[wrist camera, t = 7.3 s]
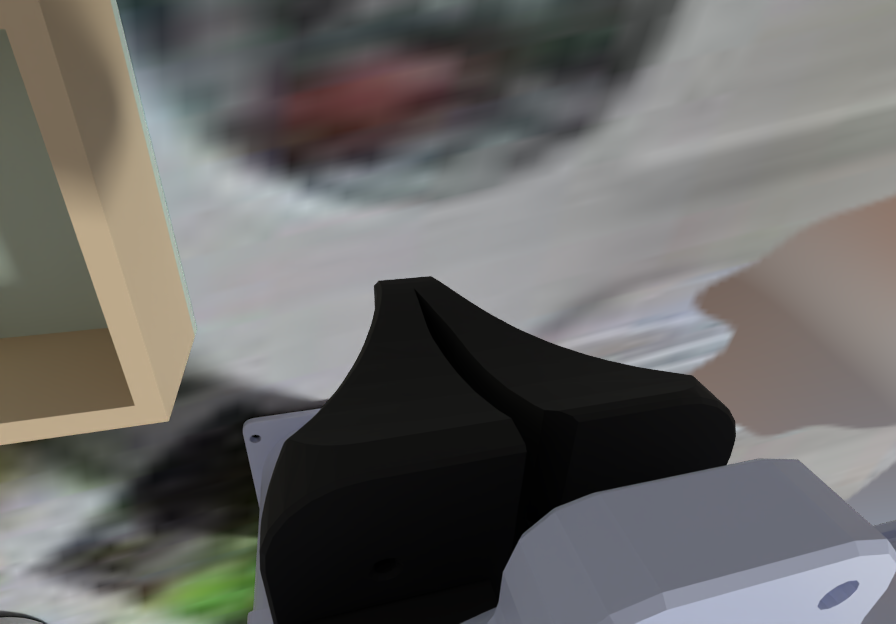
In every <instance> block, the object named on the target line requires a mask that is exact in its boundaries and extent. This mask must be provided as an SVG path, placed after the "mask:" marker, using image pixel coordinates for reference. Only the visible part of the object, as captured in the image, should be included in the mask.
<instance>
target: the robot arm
mask: <svg viewBox="0 0 896 624" xmlns="http://www.w3.org/2000/svg"><path fill="white" fill-rule="evenodd" d="M374 296H375V311H374V316H373V320H372V324H371V327H370V330H369V332H368V335H367V338H366V340H365V343H364V345H363V348H362V350H361V352H360V354H359V356H358V358H357V360H356V362H355V363H354V365H353V367H352V369H351V370H350V372H349V373H348V375H347V376H346V378H345V379H344V381H343V382H342V384H341V385H340V387H339V388H338V389H337V391H336V392H335V393H334V394H333V395H332V397H331V398H330V399H329V400H328V401H327V402H326V404H325V405H324V406H323V407H322V408H319V409H312V410H306V411H299V412H292V413H285V414H278V415H271V416H264V417H257V418H252V419H248V420H247V421H245V423H244V424H243V436H244V441H245V445H246V450H247V454H248V459H249V463H250V468H251V472H252V477H253V481H254V486H255V490H256V495H257V499H258V504H259V508H260V512H259V528H258V544H257V560H256V576H255V592H254V608H253V611H251V612H250V613H249V614H248V622H247V624H896V520H894V521H890V522H886V523H882V524H879V525H875V526H872V525H871V524H870V523H869V522H868V521H867V520H865V519H864V518H863V517H862V516H861V515H860V514H859V513H858V512H856V511H855V510H854V509H853V508H852V507H851V506H850V505H849V504H847V503H846V502H845V501H844V500H843V499H842V498H841V497H840V496H839V495H837V494H836V493H835V492H834V491H833V490H832V489H831V488H830V487H828V486H827V485H826V484H825V483H824V482H823V481H822V480H821V479H819V478H818V477H817V476H816V475H815V474H814V473H813V472H812V471H810V470H809V469H808V468H807V467H806V466H805V465H804V464H803V463H801V462H800V461H799V460H794V459H754V460H749V461H744V462H740V463H735V464H730V465H727V463H728V460H729V458H730V456H731V453H732V449H733V446H734V442H735V437H736V429H735V420H734V418H733V416H732V414H731V412H730V410H729V409H728V408H727V407H726V406H725V405H724V404H723V403H722V402H721V401H720V400H718V399H717V398H716V397H715V396H714V395H713V394H712V393H711V392H710V391H709V390H708V389H707V388H705V387H704V386H703V385H702V384H701V383H700V382H699V381H698V380H697V379H696V378H695V377H694V376H692V375H685V374H679V373H672V372H665V371H659V370H652V369H646V368H640V367H635V366H630V365H626V364H621V363H617V362H612V361H608V360H604V359H600V358H596V357H593V356H589V355H585V354H582V353H579V352H576V351H573V350H570V349H567V348H564V347H561V346H558V345H555V344H552V343H550V342H547V341H545V340H542V339H540V338H538V337H535V336H533V335H531V334H528V333H526V332H524V331H521V330H519V329H517V328H515V327H513V326H511V325H509V324H507V323H506V322H504V321H502V320H500V319H498V318H496V317H495V316H493V315H491V314H489V313H488V312H486V311H484V310H482V309H481V308H479V307H478V306H476V305H474V304H473V303H471V302H470V301H468V300H467V299H465V298H464V297H462V296H460V295H459V294H458V293H456V292H455V291H453V290H452V289H450V288H449V287H447V286H446V285H444V284H443V283H441V282H440V281H438V280H436V279H435V278H433V277H431V276H429V277H417V278H406V279H395V280H383V281H378V282H377V283H376V284H375V285H374ZM252 435H259V436H260V437H257V438H254V437H252Z"/></svg>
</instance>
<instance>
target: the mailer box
mask: <svg viewBox="0 0 896 624" xmlns="http://www.w3.org/2000/svg"><path fill="white" fill-rule="evenodd" d="M196 331H197V327H196V323H195V319H194V315H193V311H192V307H191V303H190V299H189V295H188V291H187V287H186V282H185V278H184V274H183V270H182V266H181V262H180V258H179V254H178V250H177V246H176V242H175V238H174V234H173V230H172V226H171V222H170V218H169V214H168V210H167V205H166V201H165V197H164V193H163V189H162V185H161V181H160V177H159V173H158V169H157V165H156V161H155V157H154V153H153V149H152V145H151V141H150V137H149V132H148V128H147V124H146V120H145V116H144V112H143V108H142V104H141V100H140V96H139V92H138V88H137V84H136V80H135V76H134V72H133V68H132V64H131V60H130V55H129V51H128V47H127V43H126V39H125V35H124V31H123V27H122V23H121V19H120V15H119V11H118V7H117V3H116V0H0V445H5V444H12V443H19V442H26V441H33V440H40V439H47V438H55V437H62V436H69V435H76V434H83V433H90V432H97V431H104V430H111V429H118V428H125V427H132V426H139V425H146V424H153V423H161V422H168V421H169V419H170V416H171V413H172V409H173V406H174V403H175V400H176V396H177V393H178V390H179V386H180V383H181V380H182V377H183V373H184V370H185V367H186V364H187V360H188V357H189V354H190V350H191V347H192V344H193V341H194V337H195V334H196Z"/></svg>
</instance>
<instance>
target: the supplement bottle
mask: <svg viewBox="0 0 896 624" xmlns="http://www.w3.org/2000/svg"><path fill="white" fill-rule="evenodd" d="M0 624H43V623H41V622H38V621H35V620H31V619H26V618H18V617H0Z"/></svg>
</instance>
